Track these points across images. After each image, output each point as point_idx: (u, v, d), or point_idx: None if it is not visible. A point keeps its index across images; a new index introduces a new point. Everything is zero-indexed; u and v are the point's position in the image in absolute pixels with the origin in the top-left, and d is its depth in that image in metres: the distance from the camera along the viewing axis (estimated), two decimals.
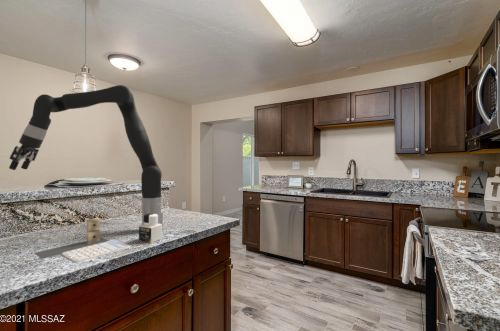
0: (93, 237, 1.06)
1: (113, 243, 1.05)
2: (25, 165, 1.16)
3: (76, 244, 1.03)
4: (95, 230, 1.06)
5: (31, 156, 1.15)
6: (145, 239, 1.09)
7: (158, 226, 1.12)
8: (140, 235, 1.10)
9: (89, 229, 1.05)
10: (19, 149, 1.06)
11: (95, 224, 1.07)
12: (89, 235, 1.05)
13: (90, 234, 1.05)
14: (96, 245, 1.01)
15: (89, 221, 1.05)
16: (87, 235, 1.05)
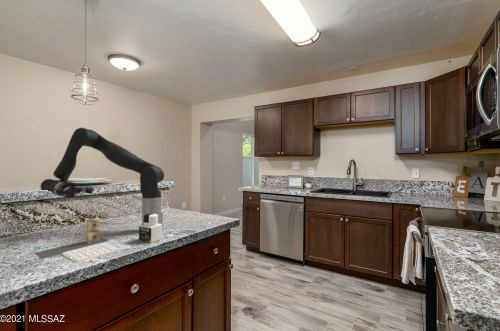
0: (93, 237, 1.06)
1: (113, 243, 1.05)
2: (88, 190, 1.18)
3: (76, 244, 1.03)
4: (95, 230, 1.06)
5: (79, 187, 1.19)
6: (145, 239, 1.09)
7: (158, 226, 1.12)
8: (140, 235, 1.10)
9: (89, 229, 1.05)
10: (54, 190, 1.13)
11: (95, 224, 1.07)
12: (89, 235, 1.05)
13: (90, 234, 1.05)
14: (96, 245, 1.01)
15: (89, 221, 1.05)
16: (87, 235, 1.05)
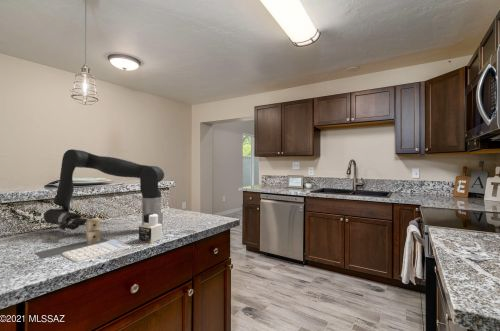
0: (93, 237, 1.06)
1: (114, 243, 1.05)
2: None
3: (76, 244, 1.03)
4: (95, 230, 1.06)
5: (84, 218, 1.17)
6: (145, 239, 1.09)
7: (158, 226, 1.12)
8: (140, 235, 1.10)
9: (89, 229, 1.05)
10: (58, 223, 1.11)
11: (95, 224, 1.07)
12: (89, 235, 1.05)
13: (90, 234, 1.05)
14: (96, 245, 1.01)
15: (89, 221, 1.05)
16: (87, 235, 1.05)
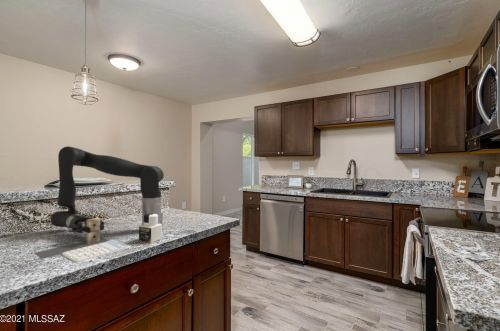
0: (93, 237, 1.06)
1: (114, 243, 1.05)
2: None
3: (76, 244, 1.03)
4: (95, 230, 1.06)
5: None
6: (145, 239, 1.09)
7: (158, 226, 1.12)
8: (140, 235, 1.10)
9: None
10: (69, 227, 1.05)
11: (95, 224, 1.07)
12: (89, 235, 1.05)
13: (90, 234, 1.05)
14: (96, 245, 1.01)
15: (89, 221, 1.05)
16: (87, 235, 1.05)
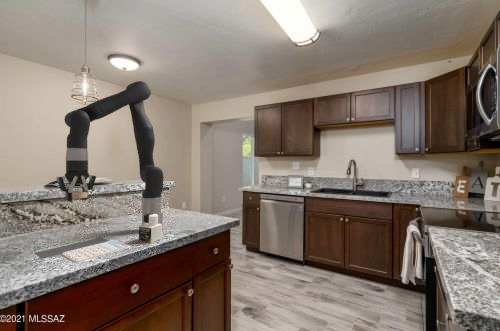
0: None
1: (114, 243, 1.05)
2: None
3: (76, 244, 1.03)
4: None
5: (82, 182, 1.02)
6: (145, 239, 1.09)
7: (158, 226, 1.12)
8: (140, 235, 1.10)
9: None
10: (58, 179, 0.96)
11: None
12: None
13: None
14: (96, 245, 1.01)
15: None
16: None
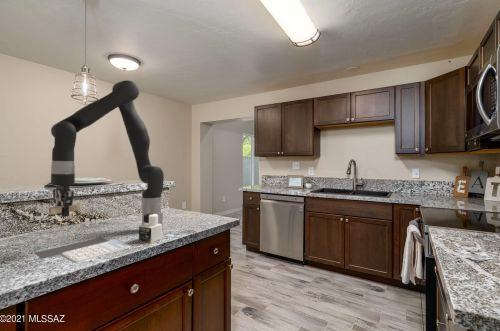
0: None
1: (114, 243, 1.05)
2: None
3: (76, 244, 1.03)
4: None
5: (59, 197, 0.96)
6: (145, 239, 1.09)
7: (158, 226, 1.12)
8: (140, 235, 1.10)
9: None
10: None
11: (58, 212, 0.96)
12: None
13: None
14: (96, 245, 1.01)
15: None
16: None
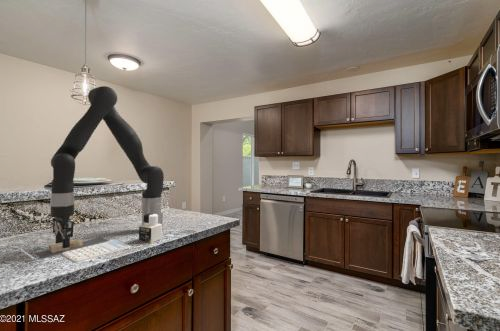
0: None
1: (114, 243, 1.05)
2: None
3: None
4: None
5: (59, 229, 0.96)
6: (145, 239, 1.09)
7: (158, 226, 1.12)
8: (140, 235, 1.10)
9: None
10: None
11: None
12: None
13: None
14: (96, 245, 1.01)
15: None
16: None
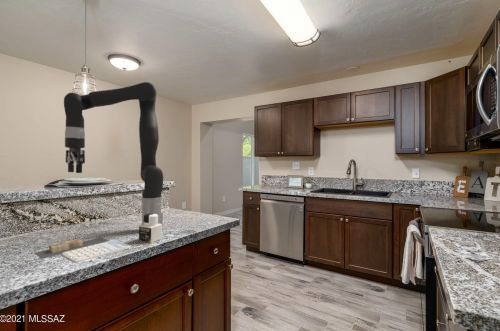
0: None
1: (114, 243, 1.05)
2: None
3: None
4: None
5: (72, 157, 1.12)
6: (145, 239, 1.09)
7: (158, 226, 1.12)
8: (140, 235, 1.10)
9: None
10: None
11: None
12: None
13: None
14: (96, 245, 1.01)
15: None
16: None
